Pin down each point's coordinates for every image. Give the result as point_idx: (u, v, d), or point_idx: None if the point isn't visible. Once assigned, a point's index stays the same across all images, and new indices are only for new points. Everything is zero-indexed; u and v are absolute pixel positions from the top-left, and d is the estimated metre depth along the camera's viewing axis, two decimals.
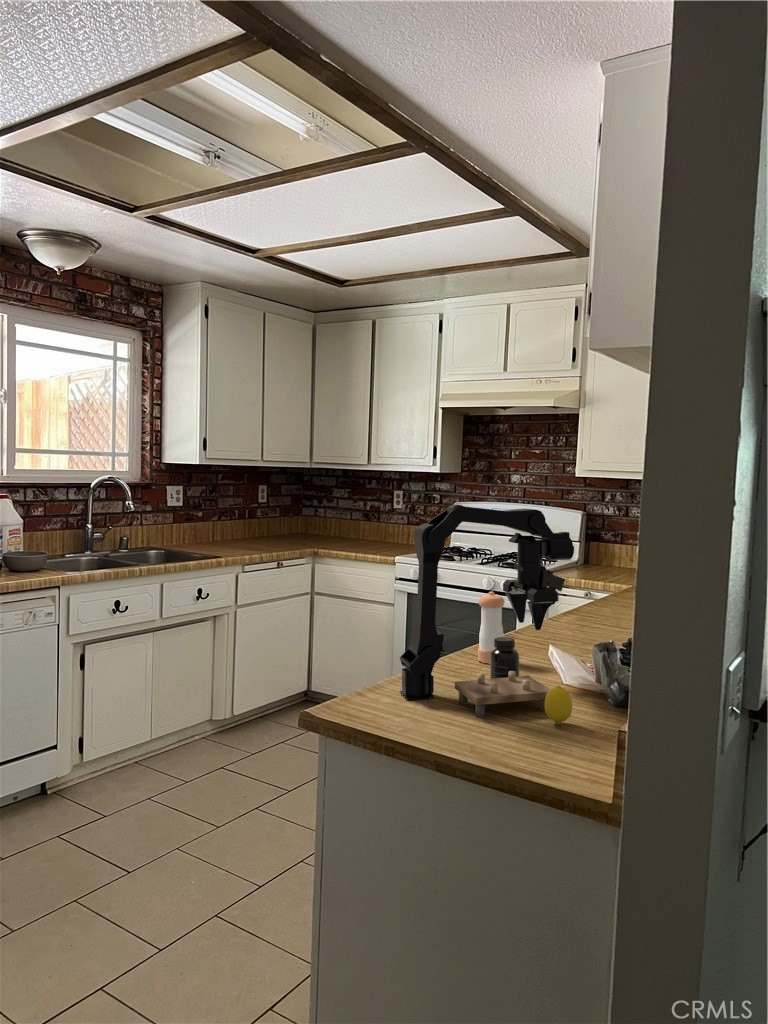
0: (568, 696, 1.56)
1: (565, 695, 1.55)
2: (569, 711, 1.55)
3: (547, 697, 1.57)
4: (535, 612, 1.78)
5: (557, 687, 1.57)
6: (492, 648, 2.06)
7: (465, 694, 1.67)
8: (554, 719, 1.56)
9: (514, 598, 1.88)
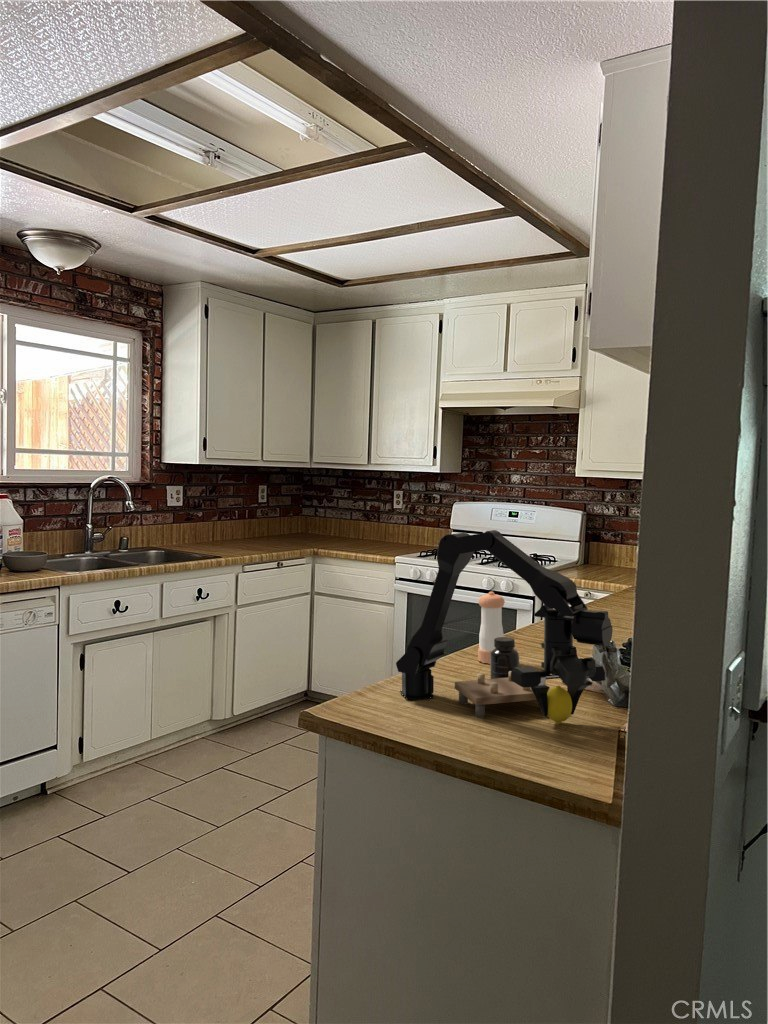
0: (568, 696, 1.56)
1: (565, 695, 1.55)
2: (569, 711, 1.55)
3: (547, 697, 1.57)
4: (535, 693, 1.57)
5: (557, 687, 1.57)
6: (492, 648, 2.06)
7: (465, 694, 1.67)
8: (554, 719, 1.56)
9: None
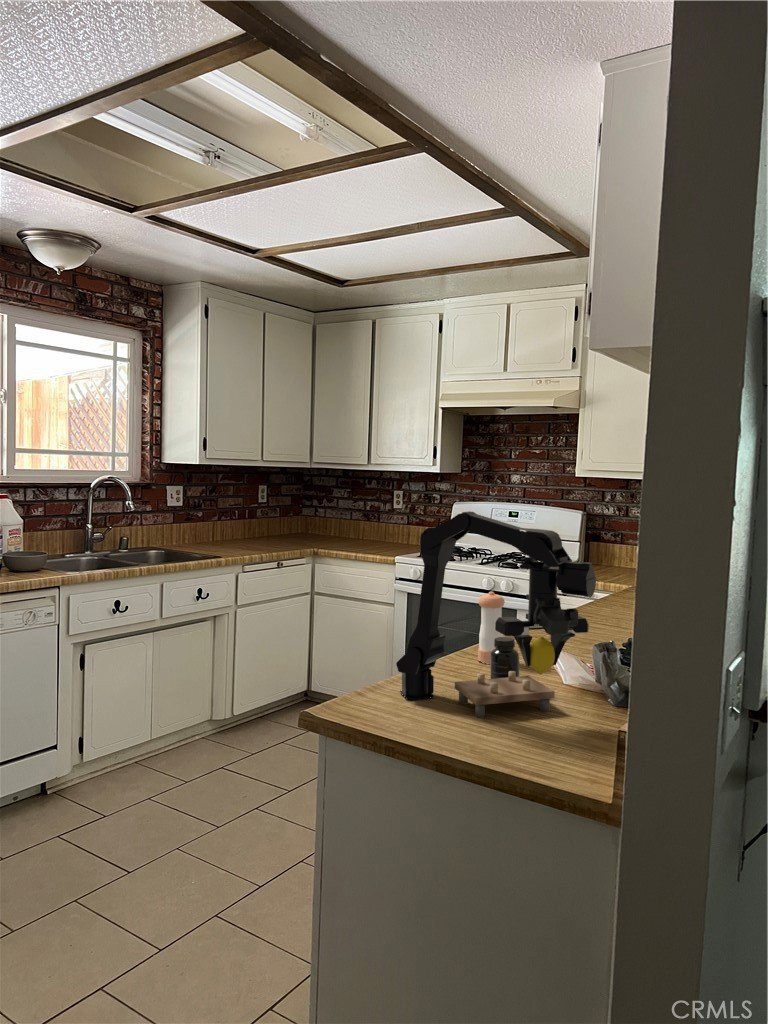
0: (551, 646, 1.58)
1: (547, 646, 1.58)
2: (551, 661, 1.58)
3: (530, 647, 1.59)
4: (519, 644, 1.60)
5: (540, 638, 1.59)
6: (492, 648, 2.06)
7: (465, 694, 1.67)
8: (537, 669, 1.59)
9: (552, 634, 1.62)
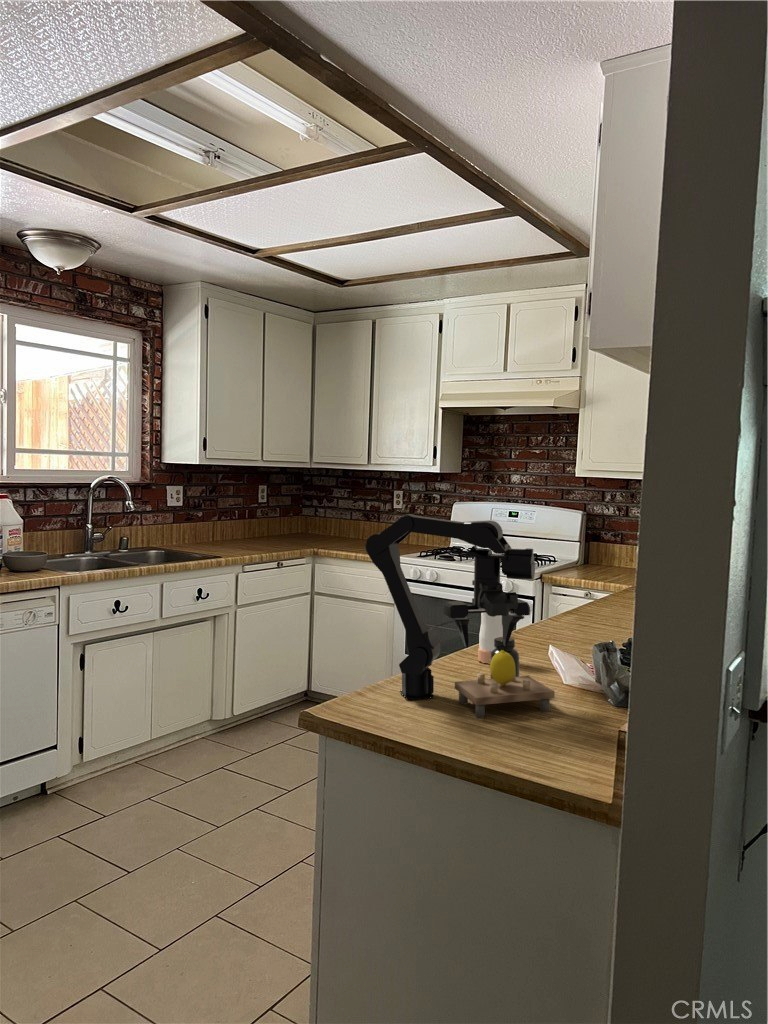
0: (511, 659, 1.67)
1: (508, 659, 1.67)
2: (512, 673, 1.67)
3: (492, 661, 1.68)
4: (458, 626, 1.72)
5: (501, 651, 1.68)
6: (492, 648, 2.06)
7: (465, 694, 1.67)
8: (499, 681, 1.68)
9: (504, 617, 1.74)
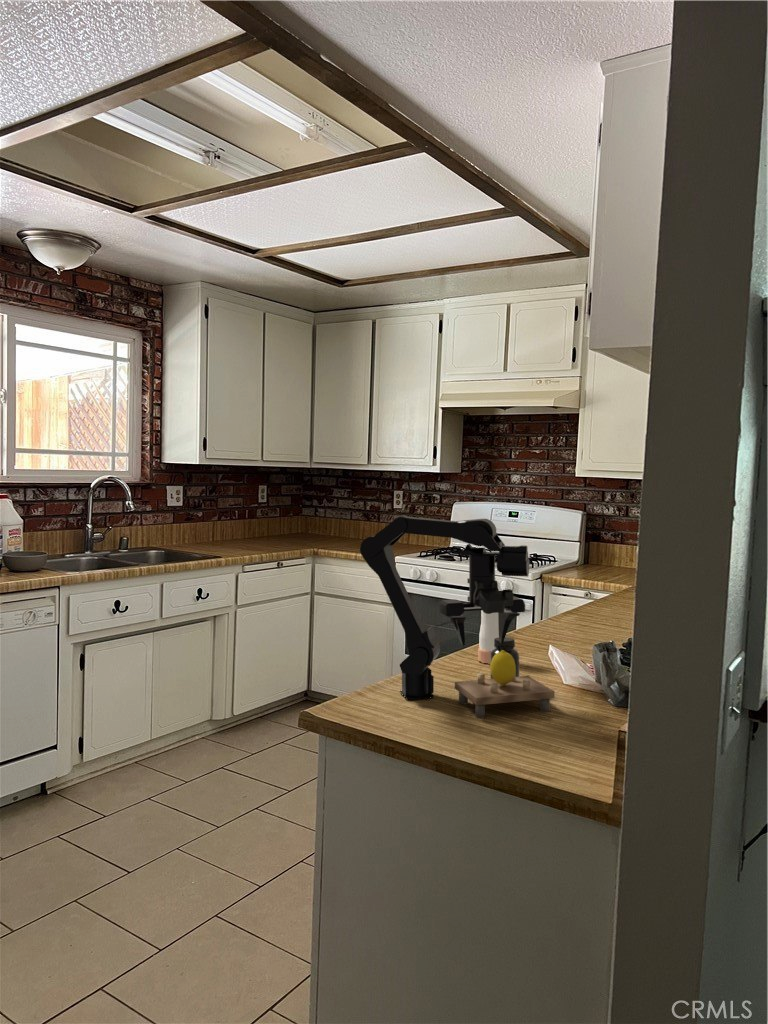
0: (511, 660, 1.67)
1: (508, 659, 1.67)
2: (512, 673, 1.67)
3: (492, 661, 1.68)
4: (454, 624, 1.72)
5: (502, 652, 1.68)
6: (492, 648, 2.06)
7: (465, 694, 1.67)
8: (499, 681, 1.68)
9: (499, 615, 1.75)
